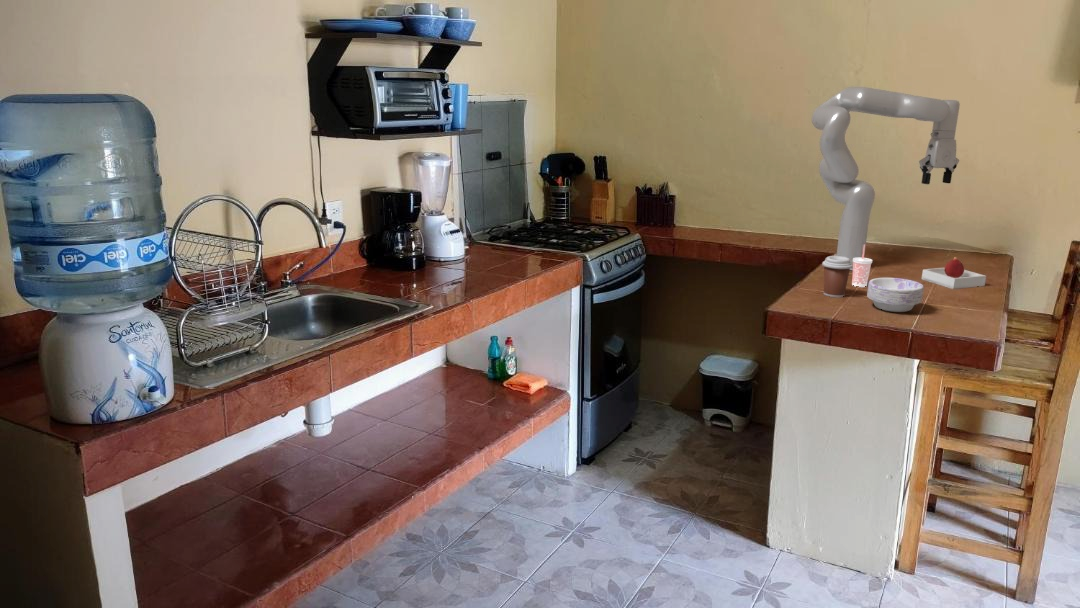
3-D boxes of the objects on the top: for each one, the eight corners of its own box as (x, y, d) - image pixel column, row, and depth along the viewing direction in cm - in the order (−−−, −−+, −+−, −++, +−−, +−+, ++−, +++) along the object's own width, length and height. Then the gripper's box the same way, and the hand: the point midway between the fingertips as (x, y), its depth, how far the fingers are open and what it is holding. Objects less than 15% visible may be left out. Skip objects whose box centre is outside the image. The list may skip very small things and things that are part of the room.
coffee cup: (845, 300, 242) (850, 262, 239) (815, 295, 247) (819, 259, 244) (851, 293, 250) (856, 257, 246) (822, 289, 254) (826, 253, 251)
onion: (960, 279, 266) (964, 256, 264) (963, 282, 261) (967, 259, 258) (942, 277, 268) (945, 254, 266) (944, 281, 263) (947, 258, 260)
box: (953, 289, 256) (954, 278, 255) (921, 279, 268) (922, 269, 267) (984, 285, 260) (986, 275, 259) (952, 276, 273) (953, 266, 272)
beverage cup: (845, 284, 261) (850, 243, 257) (859, 282, 264) (864, 242, 260) (859, 288, 256) (864, 247, 252) (873, 286, 258) (878, 245, 254)
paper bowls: (855, 306, 236) (858, 281, 234) (883, 298, 244) (887, 274, 242) (902, 318, 224) (906, 292, 222) (930, 310, 233) (934, 284, 230)
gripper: (932, 136, 271) (925, 185, 275) (970, 135, 276) (962, 183, 281) (916, 135, 277) (909, 183, 282) (953, 134, 283) (946, 181, 288)
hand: (935, 183), depth 282 cm, fingers open, 9 cm apart
